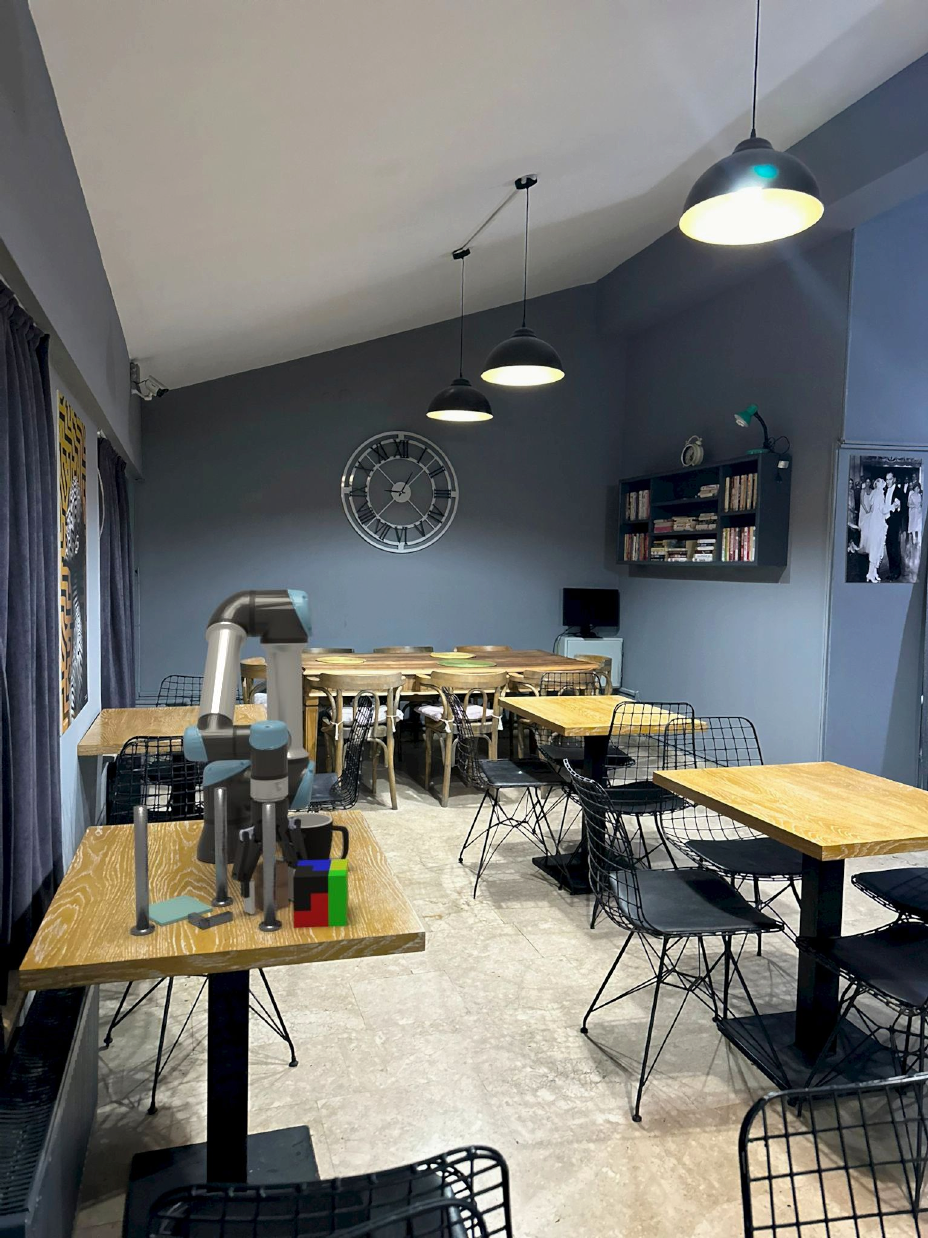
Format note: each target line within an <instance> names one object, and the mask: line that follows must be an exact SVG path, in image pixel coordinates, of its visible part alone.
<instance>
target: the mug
mask: <svg viewBox="0 0 928 1238" xmlns="http://www.w3.org/2000/svg"><path fill="white" fill-rule="evenodd" d="M287 817H288V819H290V818H291V817H295V818H298V819H300V820H301V833H302V837H303V842H304V846H305V850H306V854H307V858H308V860H334V859H347V857H348V854H349V849H350V832H349V830H348V828H347V827H346V826H343V825H336V824H335V825H334V820H333V818H332V816H330V815H328V814H324V813H320V812H318V813H317V812H303V813H295V814H291V815H287ZM333 832H341V839H342V844H341V845H342V848H341V853H340V855H339V857H331V851H332V843H333V834H334V833H333ZM285 833H286V835H287V837H288V839H289V843H290V845H291V847H292V849H293V850H294V847H293V843H292V839H291V834H290V830H289V827H288V828H287V829H286V831H285ZM280 850H281V849H280ZM294 852H295V851H294ZM281 855H282V856H276V859H278V860H280V861H283V862H285V863H288V861H287V859H286V857H285V855H284V853H283V852H282V850H281ZM288 867H291V866H290V865H289V863H288Z"/></svg>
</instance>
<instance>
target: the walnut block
mask: <svg viewBox="0 0 928 1238" xmlns="http://www.w3.org/2000/svg"><path fill="white" fill-rule="evenodd" d="M252 879H253V880H252V881H254V893H255V908H256V909H257V910H259V911H261V912H263V913H264V891H263V860H261V861H258V863H257V866H256V868H255V871H254V873H253V876H252ZM288 907H289V899H288V863H285V862H283V861H280V860H278V859H276V910H277V911H279V910H282V909H285V908H286V909H287V908H288Z"/></svg>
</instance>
